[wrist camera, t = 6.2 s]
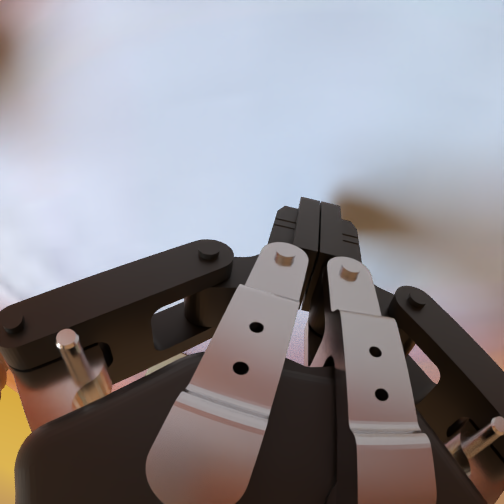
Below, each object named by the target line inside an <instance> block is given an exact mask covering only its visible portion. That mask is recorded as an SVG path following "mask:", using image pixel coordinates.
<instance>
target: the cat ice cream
mask: <svg viewBox="0 0 504 504" xmlns="http://www.w3.org/2000/svg"><path fill="white" fill-rule="evenodd" d="M8 369H9V367H8V366H7V364H6V363H5V361H4V358H3V356H2V354H1V352H0V398H1V390H2V389H3V388H4V386H5V384H6V379H7V376H6V372H7V370H8Z"/></svg>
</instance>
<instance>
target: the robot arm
mask: <svg viewBox="0 0 504 504" xmlns="http://www.w3.org/2000/svg"><path fill="white" fill-rule="evenodd" d="M183 298H184V302H182V303H180V304H178V305H175V306H173V307H170V308H168V309H166V310H163V311H161V312H158V313H156V314H154V313H155V312H156V311H157V310H158V309H160V308H161V307H163V306H166V305H168V304H171V303H173V302H176V301H178V300H180V299H183ZM302 300H303V301H302ZM301 303H302V309H301V310H304V311H308V312H309V318H308V320H307V323H306V326H305V329H304V366H303V365H301V364H299V363H296V362H294V361H292V360H289V359H287V358H286V354H287V350H288V347H289V343H290V339H291V335H292V331H293V327H294V324H295V320H296V316H297V312H298V309H300V306H301ZM153 314H154V315H153ZM210 338H212V339H211V341H210V343H209V345H208V347H207V349H206V351H205V352H200V353H195V354H191V355H187V356H185V357H182V358H179V359H177V360H175V361H173V362H171V363H170V364H168V365H166V366H164V367H162V368H160V369H158V370H156V371H154V372H152V373H150V374H148V375H146V376H144V377H142V378H140V379H138V380H136V381H134V382H132V383H130V384H128V385H126V386H124V387H122V388H120V389H118V390H116V391H114V392H112V393H111V390H112V385H113V384H115V383H118V382H120V381H122V380H124V379H126V378H129V377H131V376H133V375H135V374H137V373H140V372H142V371H144V370H146V369H148V368H150V367H153V366H155V365H157V364H159V363H161V362H163V361H165V360H167V359H170V358H172V357H174V356H176V355H178V354H180V353H182V352H184V351H186V350H188V349H190V348H192V347H194V346H196V345H198V344H200V343H202V342H204V341H206V340H208V339H210ZM415 344H417V345H418V347H419V348H420V349H421V350H422V351H423V352H424V353H425V354H426V355H427V356H428V357H429V358H430V360H431V361H432V362H433V363H434V364H435V365H436V366H437V367H438V369H439V371H440V380H439V382H438V384H435V383H433V382H432V381H431V379H430V378H429V377H428V376H427V375H426V374H425V373H424V371H423V370H422V369H421V368H420V367H419V366H418V365H417V364H416V362H415V361H414V360H413V359H412V358H411V357H410V356H409V355H408V354H409V352H410V351H411V350H412V348H413V347H414V345H415ZM0 352H1V354H2V356H3V358H4V361H5V363H6V364H7V366H8V367H9V369H10V370H11V372H12V373H13V375H14V378H15V382H16V386H17V389H18V392H19V396H20V399H21V401H22V406H23V409H24V412H25V415H26V418H27V420H28V423H29V426H30V429H31V431H32V433H31V434H30V435H29V436H28V437H27V438H26V440H25V441H24V443H23V444H22V445H21V448H20V450H19V452H18V455H17V458H16V462H15V470H14V471H15V492H16V495H15V501H16V502H15V504H495V502H496V501H497V500H498V498H499V497H500V495H501V494H502V493H503V491H504V371H503V370H502V369H501V368H500V367H499V366H498V365H497V364H496V363H495V362H494V361H493V359H492V358H491V357H490V356H489V355H488V354H487V353H486V352H485V351H484V350H483V349H482V348H481V347H480V346H479V345H478V344H477V343H476V342H475V341H474V340H473V338H472V337H471V336H470V335H469V334H468V333H467V332H466V331H465V330H464V329H463V328H462V327H461V326H460V325H459V324H458V323H457V322H456V321H455V320H454V319H453V318H452V317H451V316H450V315H449V314H447V313H446V312H445V311H444V310H443V309H442V308H441V307H440V306H439V305H438V304H437V303H436V302H435V301H434V300H433V299H432V298H431V297H430V296H429V295H427V294H426V293H425V292H424V291H422V290H420V289H418V288H415V287H412V286H402V287H400V288H398V289H397V291H396V292H395V294H391V293H389V292H387V291H385V290H383V289H381V288H379V287H377V286H376V285H374V283H373V279H372V275H371V273H370V271H369V269H368V268H367V267H366V266H365V265H364V264H362V261H361V254H360V247H359V240H358V234H357V229H356V228H355V227H354V225H353V224H352V223H351V221H347V220H343V219H341V212H340V206H338V205H334V204H330V203H326V202H322V201H321V203H320V201H317V200H313V199H309V198H305V197H301V199H300V204H299V208H298V209H296V208H292V207H288V206H284V207H283V208H281V209H280V210H278V211H277V214H276V218H275V221H274V225H273V228H272V231H271V234H270V238H269V241H268V244H267V245H265V246H264V247H263V248H262V250H261V252H260V254H259V255H256V256H252V257H234V253H233V251H232V249H231V248H230V247H229V246H227V245H226V244H224V243H222V242H219V241H216V240H208V239H206V240H198V241H194V242H191V243H188V244H185V245H182V246H179V247H176V248H173V249H170V250H167V251H164V252H161V253H158V254H155V255H152V256H149V257H146V258H143V259H140V260H137V261H134V262H131V263H128V264H125V265H122V266H119V267H116V268H113V269H110V270H107V271H105V272H102V273H99V274H96V275H93V276H90V277H87V278H84V279H82V280H79V281H76V282H73V283H70V284H67V285H65V286H62V287H59V288H56V289H53V290H51V291H48V292H45V293H42V294H40V295H37V296H34V297H31V298H29V299H26V300H23V301H21V302H18V303H15V304H12V305H10V306H8V307H6V308H4V309H3V310H1V311H0Z"/></svg>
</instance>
